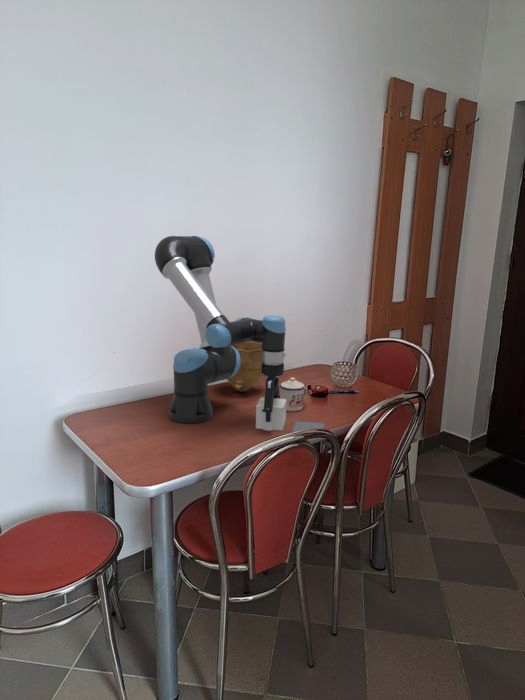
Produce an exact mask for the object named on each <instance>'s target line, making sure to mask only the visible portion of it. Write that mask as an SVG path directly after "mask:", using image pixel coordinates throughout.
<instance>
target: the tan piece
mask: <svg viewBox="0 0 525 700" xmlns="http://www.w3.org/2000/svg"><path fill="white" fill-rule="evenodd" d="M231 346H232V347H234V348H235V349H236V350H237V351H238V352H239V355H240V359H241V364H240V368H239V370H238V372H237V373H236V375H234V376H233V377H230V378H228V379H226V381H228V383H229V384H230V385H231V387H233V389H235V390H237V391H238V392H241V393H245V392H247V391H248V390H250V389H251V388H253V386H254V385H255V384H256V383H257V381H258V380H260V378H261V377H262V376H264V375H263V374H262V373H261V366H262V363H263V362H262V361H261V359H262V343H259V342H253V341H249V342H244V343H239V344H234V345H231Z"/></svg>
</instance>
